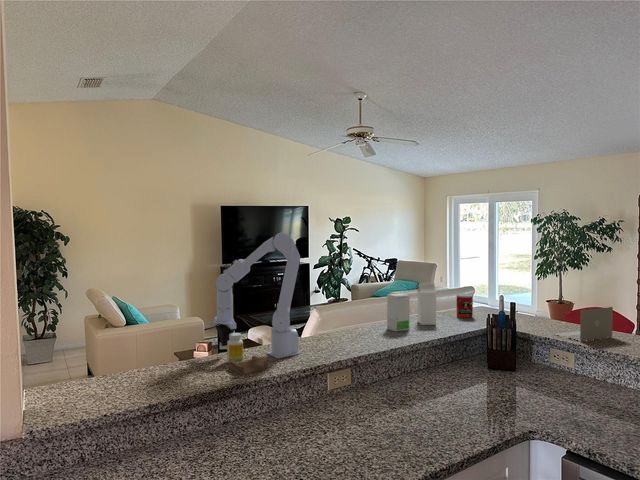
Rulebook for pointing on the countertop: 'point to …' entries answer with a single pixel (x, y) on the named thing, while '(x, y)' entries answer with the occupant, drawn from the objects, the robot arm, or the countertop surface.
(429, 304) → the milk carton
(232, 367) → the wooden holder
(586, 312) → the laptop
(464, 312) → the canned food
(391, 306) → the skincare box
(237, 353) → the supplement bottle
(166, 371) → the countertop surface
